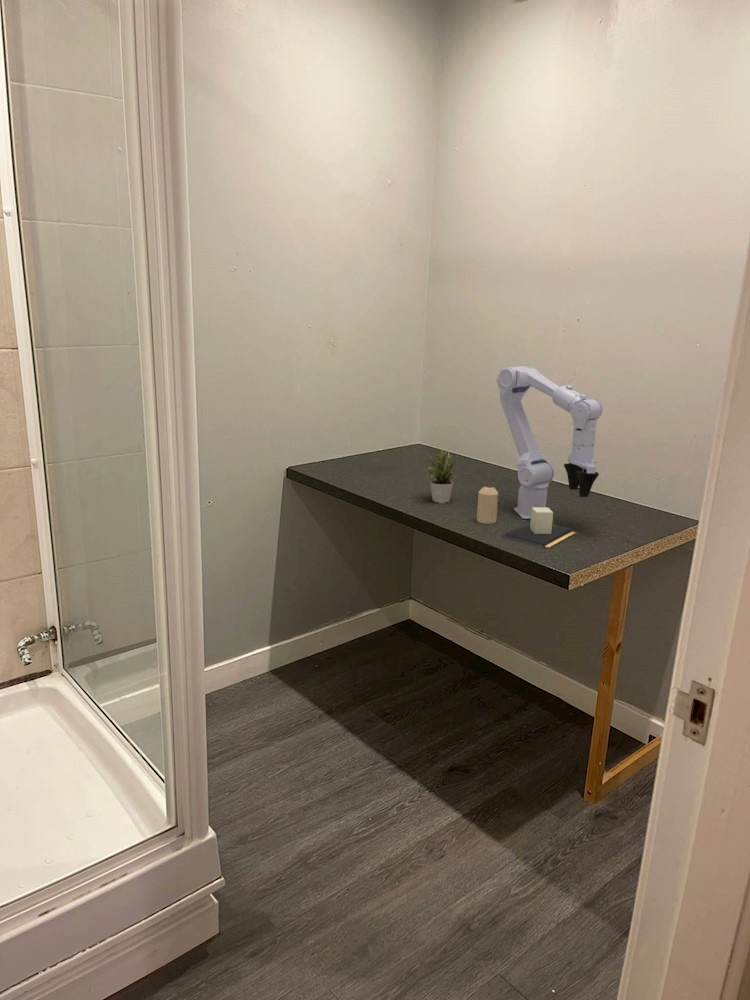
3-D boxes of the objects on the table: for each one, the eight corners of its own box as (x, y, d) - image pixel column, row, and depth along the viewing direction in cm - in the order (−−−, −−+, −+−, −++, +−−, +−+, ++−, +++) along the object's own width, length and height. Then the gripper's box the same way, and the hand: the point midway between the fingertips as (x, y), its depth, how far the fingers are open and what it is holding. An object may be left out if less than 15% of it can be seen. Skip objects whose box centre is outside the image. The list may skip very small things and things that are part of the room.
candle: (494, 518, 206) (496, 484, 204) (497, 524, 201) (500, 490, 198) (475, 517, 206) (477, 484, 203) (478, 524, 201) (480, 489, 198)
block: (530, 528, 195) (531, 507, 193) (546, 528, 196) (548, 507, 194) (534, 533, 191) (536, 512, 189) (551, 533, 191) (553, 512, 189)
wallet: (534, 516, 205) (583, 529, 196) (533, 523, 206) (582, 535, 196) (496, 532, 191) (547, 547, 181) (495, 539, 191) (546, 554, 182)
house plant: (413, 493, 229) (415, 443, 224) (456, 493, 230) (459, 443, 225) (419, 506, 215) (421, 453, 211) (464, 506, 216) (468, 454, 212)
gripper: (608, 449, 186) (603, 499, 189) (587, 438, 200) (582, 486, 203) (582, 449, 185) (577, 500, 189) (562, 439, 199) (558, 486, 203)
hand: (578, 492), depth 196 cm, fingers open, 7 cm apart
